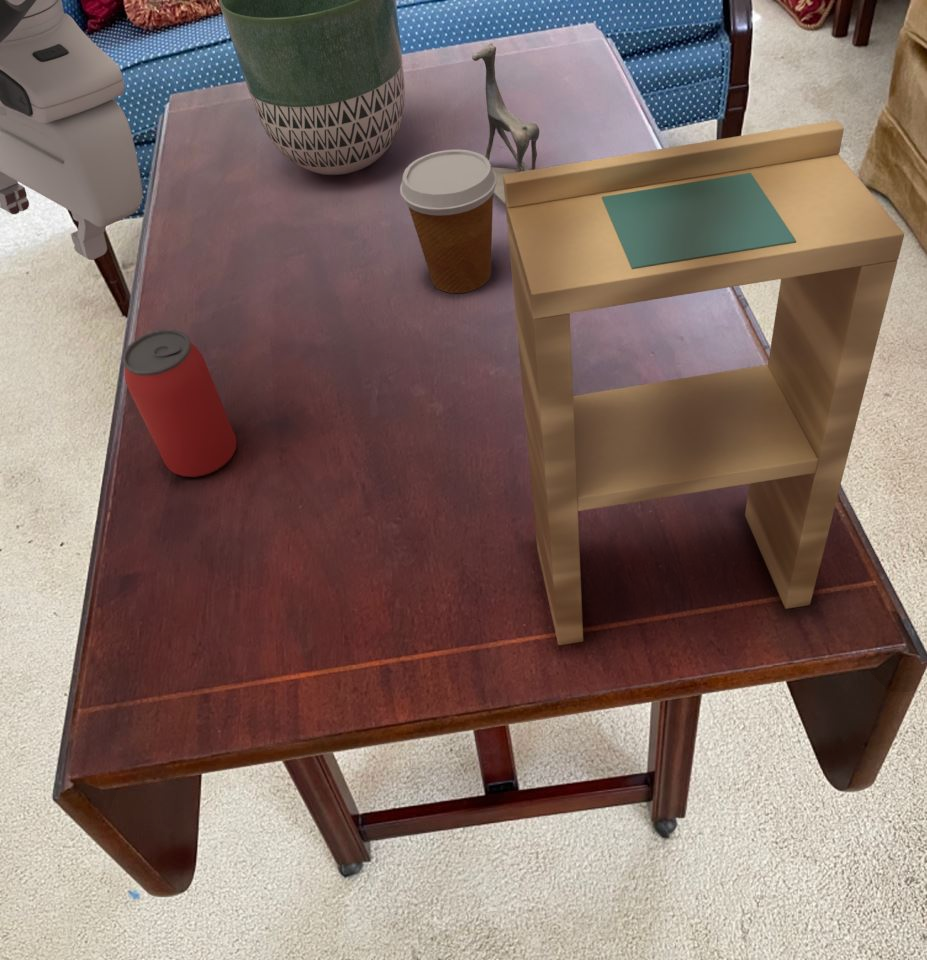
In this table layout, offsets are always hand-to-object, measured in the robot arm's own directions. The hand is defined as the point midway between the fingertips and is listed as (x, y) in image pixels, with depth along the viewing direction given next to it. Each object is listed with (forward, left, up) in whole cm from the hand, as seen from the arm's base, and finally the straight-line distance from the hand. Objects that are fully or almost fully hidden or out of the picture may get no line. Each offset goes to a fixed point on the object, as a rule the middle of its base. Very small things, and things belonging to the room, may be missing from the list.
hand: (52, 230), depth 72 cm
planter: (+29, +41, -22) cm, 55 cm away
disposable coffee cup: (+34, +10, -22) cm, 42 cm away
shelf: (+35, -34, -22) cm, 53 cm away
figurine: (+46, +25, -22) cm, 57 cm away
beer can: (+4, -5, -22) cm, 23 cm away
